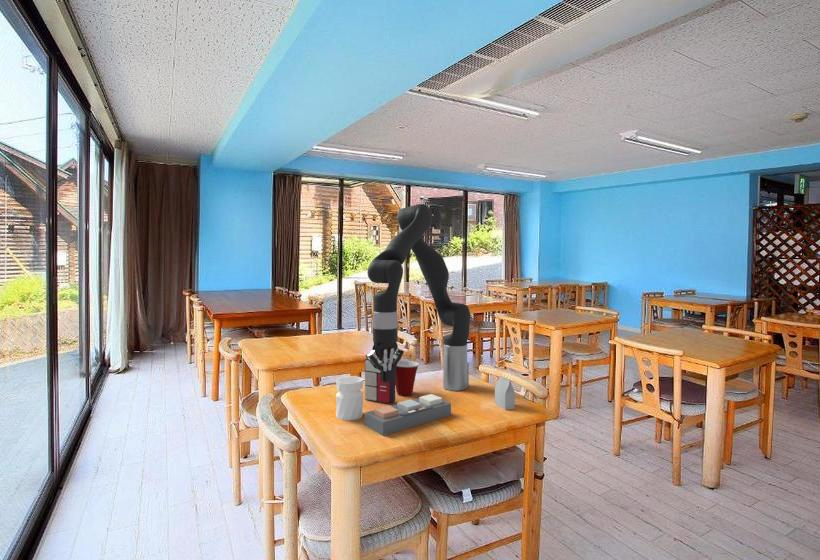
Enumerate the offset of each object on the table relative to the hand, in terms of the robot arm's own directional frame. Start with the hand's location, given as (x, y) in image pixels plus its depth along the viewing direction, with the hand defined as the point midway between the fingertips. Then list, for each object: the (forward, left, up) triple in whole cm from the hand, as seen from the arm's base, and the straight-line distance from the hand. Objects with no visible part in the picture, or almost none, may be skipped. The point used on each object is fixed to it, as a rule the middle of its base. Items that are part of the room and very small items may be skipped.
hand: (385, 382), depth 143 cm
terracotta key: (0, 0, -12) cm, 12 cm away
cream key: (-18, 0, -12) cm, 21 cm away
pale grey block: (-43, +10, -14) cm, 47 cm away
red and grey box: (-12, -21, -14) cm, 28 cm away
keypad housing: (-9, 0, -14) cm, 17 cm away
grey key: (-9, 0, -12) cm, 15 cm away
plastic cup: (-24, -22, -14) cm, 36 cm away
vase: (+4, -15, -14) cm, 21 cm away
